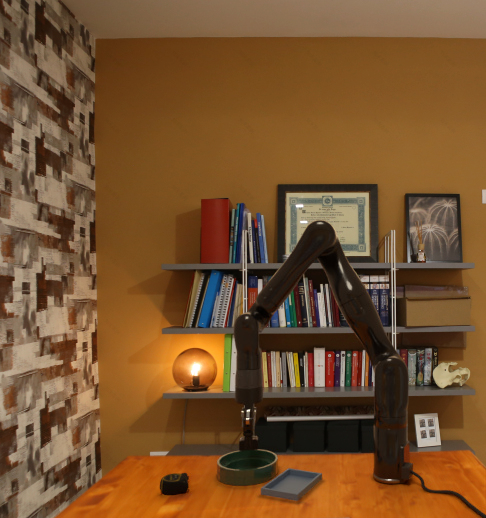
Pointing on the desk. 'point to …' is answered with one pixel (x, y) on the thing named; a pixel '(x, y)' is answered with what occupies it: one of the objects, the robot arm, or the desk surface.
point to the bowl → (247, 467)
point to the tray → (291, 484)
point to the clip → (255, 443)
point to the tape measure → (174, 483)
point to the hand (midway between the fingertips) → (248, 447)
